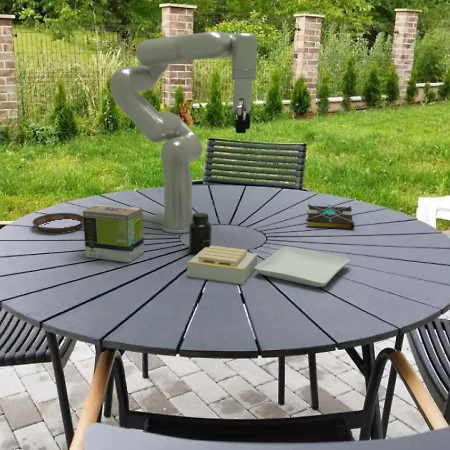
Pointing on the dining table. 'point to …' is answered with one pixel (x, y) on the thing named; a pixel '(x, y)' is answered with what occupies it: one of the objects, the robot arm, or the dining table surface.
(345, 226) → the book
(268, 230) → the dining table surface
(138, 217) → the tea box
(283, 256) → the salad plate
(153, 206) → the dining table surface
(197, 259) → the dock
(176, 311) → the dining table surface
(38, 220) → the plant saucer
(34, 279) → the dining table surface
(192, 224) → the supplement bottle
